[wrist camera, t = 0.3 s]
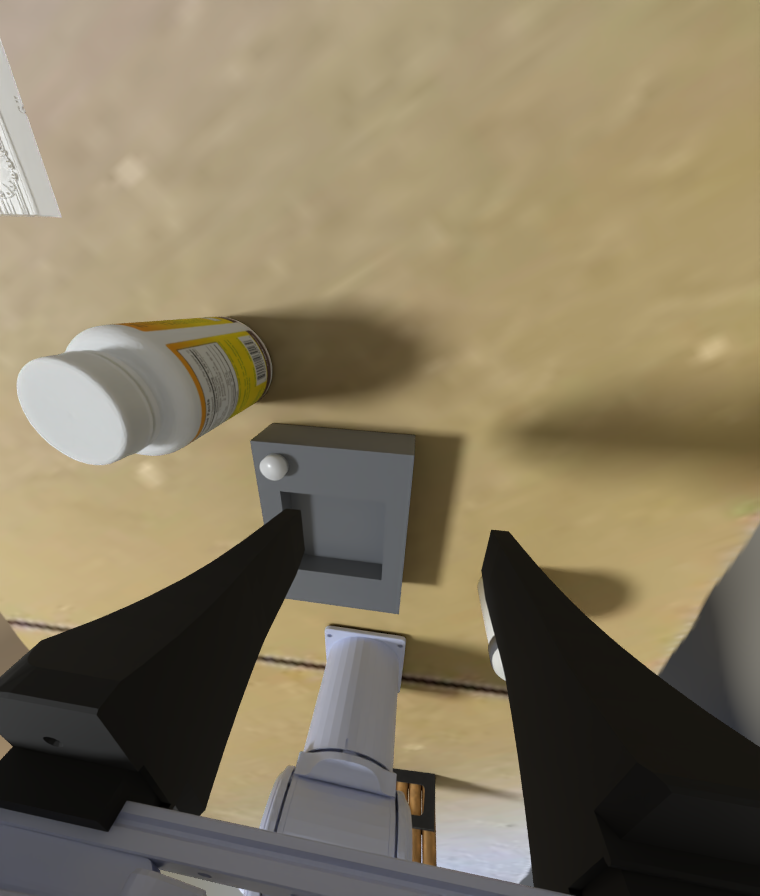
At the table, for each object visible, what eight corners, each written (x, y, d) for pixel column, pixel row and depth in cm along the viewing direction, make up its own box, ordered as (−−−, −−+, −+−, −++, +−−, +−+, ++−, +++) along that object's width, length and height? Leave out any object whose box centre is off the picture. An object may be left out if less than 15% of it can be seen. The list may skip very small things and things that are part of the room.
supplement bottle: (181, 366, 20) (-21, 419, 11) (215, 295, 18) (-2, 286, 9) (251, 420, 21) (122, 509, 12) (292, 358, 19) (172, 411, 10)
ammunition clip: (360, 769, 44) (341, 920, 33) (359, 763, 43) (338, 916, 32) (435, 779, 42) (439, 941, 32) (435, 773, 42) (439, 938, 31)
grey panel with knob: (401, 582, 26) (398, 621, 23) (290, 568, 27) (272, 603, 24) (415, 435, 20) (414, 460, 17) (272, 423, 21) (245, 444, 18)
